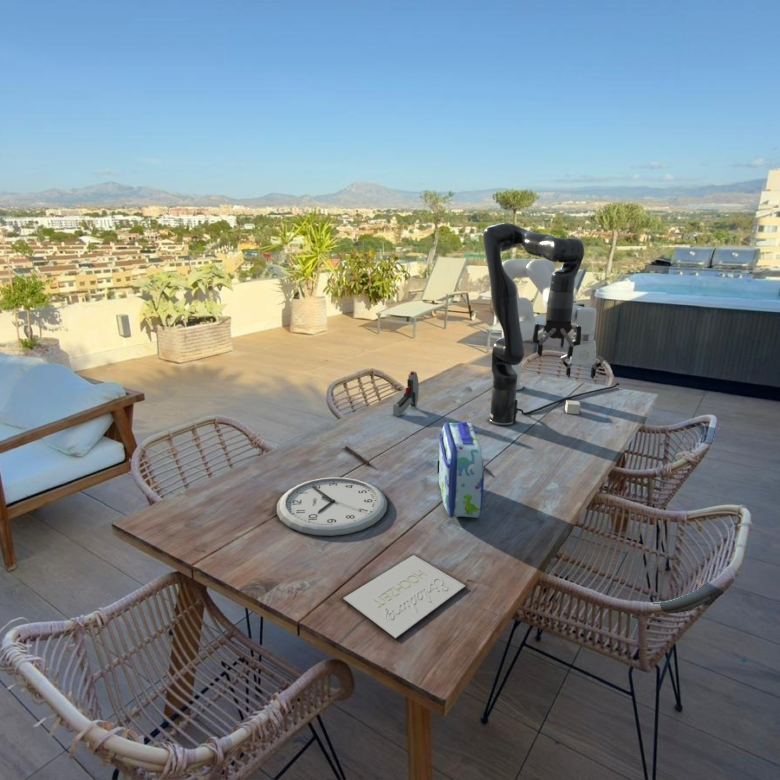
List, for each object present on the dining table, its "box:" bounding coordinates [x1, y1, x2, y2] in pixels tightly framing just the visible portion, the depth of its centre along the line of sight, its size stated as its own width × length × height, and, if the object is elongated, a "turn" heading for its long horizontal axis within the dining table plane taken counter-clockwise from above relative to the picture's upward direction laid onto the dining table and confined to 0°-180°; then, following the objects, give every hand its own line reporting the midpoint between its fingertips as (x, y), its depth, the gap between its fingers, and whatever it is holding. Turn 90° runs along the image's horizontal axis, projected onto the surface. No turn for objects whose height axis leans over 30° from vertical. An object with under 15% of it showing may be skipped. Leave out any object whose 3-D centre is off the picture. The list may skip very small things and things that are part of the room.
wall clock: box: [276, 476, 388, 537], centre depth 142 cm, size 30×2×30 cm
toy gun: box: [392, 370, 420, 417], centre depth 214 cm, size 2×16×15 cm
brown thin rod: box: [344, 445, 370, 465], centre depth 173 cm, size 15×1×1 cm, turn 34°
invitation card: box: [343, 554, 466, 639], centre depth 109 cm, size 21×1×15 cm
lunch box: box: [436, 421, 485, 519], centre depth 143 cm, size 26×11×21 cm, turn 179°
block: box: [564, 399, 581, 415], centre depth 219 cm, size 5×5×4 cm
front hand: (554, 357), depth 165 cm, fingers open, 8 cm apart
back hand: (580, 377), depth 222 cm, fingers open, 9 cm apart
